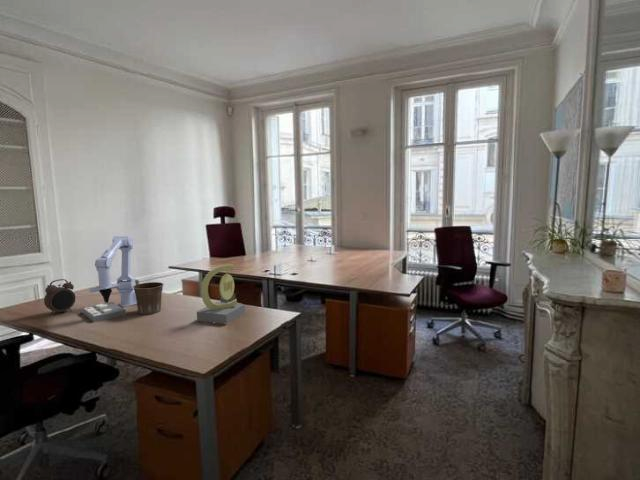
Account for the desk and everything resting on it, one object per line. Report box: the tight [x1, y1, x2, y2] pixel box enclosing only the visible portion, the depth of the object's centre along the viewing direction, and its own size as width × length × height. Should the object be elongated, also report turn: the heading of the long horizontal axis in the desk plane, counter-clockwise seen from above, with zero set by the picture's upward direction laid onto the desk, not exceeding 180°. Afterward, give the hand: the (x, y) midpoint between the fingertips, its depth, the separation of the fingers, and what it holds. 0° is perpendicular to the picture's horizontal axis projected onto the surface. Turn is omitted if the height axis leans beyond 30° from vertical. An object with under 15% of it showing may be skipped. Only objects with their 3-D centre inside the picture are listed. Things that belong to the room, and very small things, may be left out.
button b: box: [99, 303, 108, 311], centre depth 201 cm, size 4×4×3 cm
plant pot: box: [133, 281, 164, 315], centre depth 205 cm, size 16×16×16 cm
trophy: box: [196, 264, 246, 325], centre depth 192 cm, size 19×19×30 cm
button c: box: [102, 309, 112, 313], centre depth 197 cm, size 4×4×3 cm
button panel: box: [81, 301, 127, 323], centre depth 201 cm, size 16×24×3 cm, turn 47°
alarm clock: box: [43, 278, 76, 316], centre depth 204 cm, size 14×7×20 cm, turn 151°
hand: (106, 302), depth 196 cm, fingers closed
